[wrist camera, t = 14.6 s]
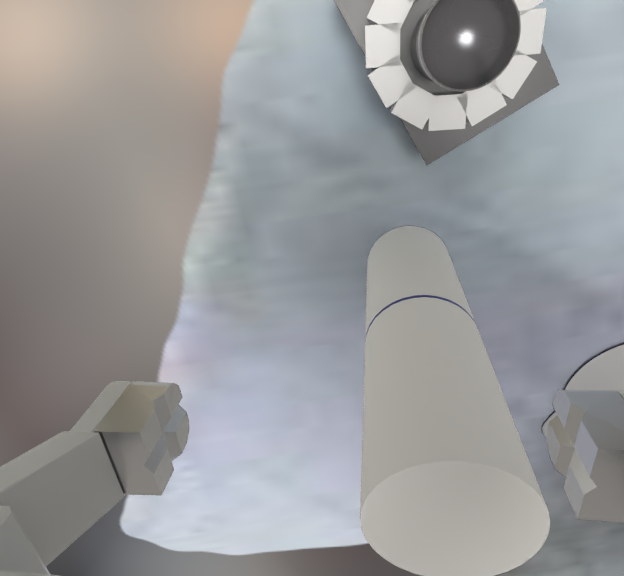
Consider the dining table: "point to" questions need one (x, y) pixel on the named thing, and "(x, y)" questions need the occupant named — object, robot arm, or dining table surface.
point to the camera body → (430, 96)
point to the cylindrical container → (438, 425)
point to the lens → (465, 42)
